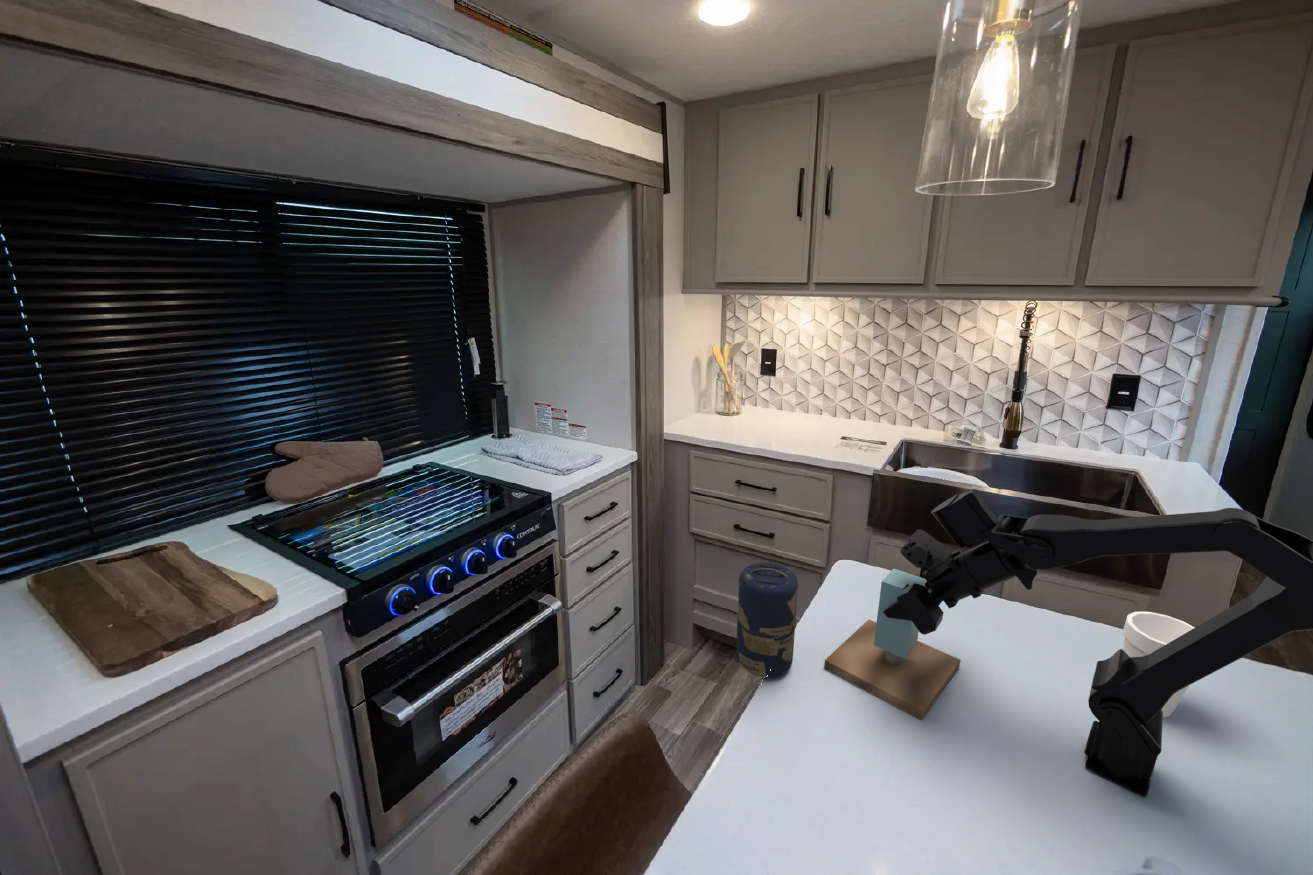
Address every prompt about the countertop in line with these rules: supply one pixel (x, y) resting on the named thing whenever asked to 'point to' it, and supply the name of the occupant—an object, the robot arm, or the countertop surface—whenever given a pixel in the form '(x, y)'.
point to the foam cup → (1153, 641)
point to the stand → (893, 671)
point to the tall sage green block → (892, 631)
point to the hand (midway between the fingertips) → (891, 606)
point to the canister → (766, 619)
